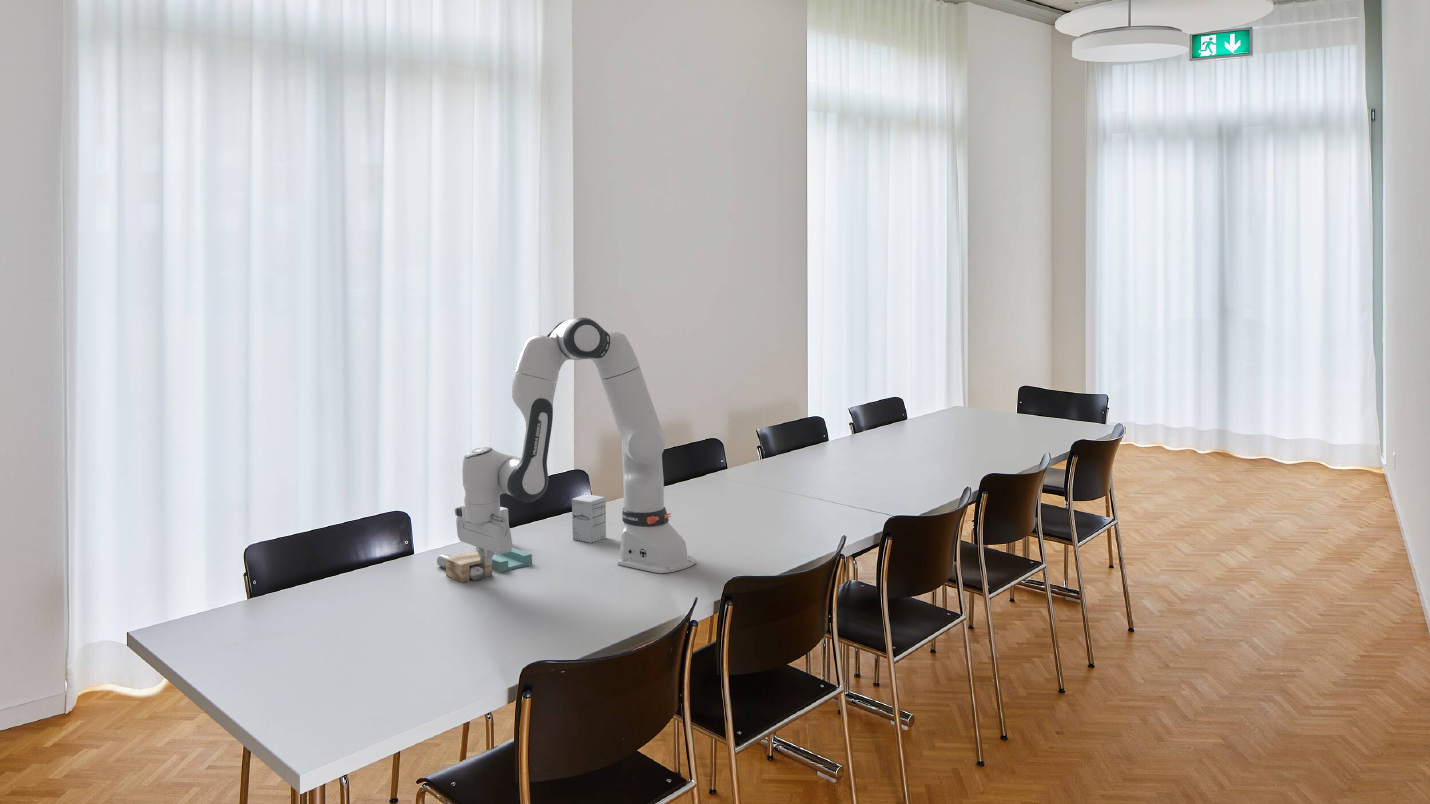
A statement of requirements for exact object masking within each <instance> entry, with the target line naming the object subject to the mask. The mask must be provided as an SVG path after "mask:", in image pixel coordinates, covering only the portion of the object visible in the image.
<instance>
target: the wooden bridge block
mask: <svg viewBox="0 0 1430 804" xmlns="http://www.w3.org/2000/svg"><path fill="white" fill-rule="evenodd" d="M445 561H446V569H445V576H446V575H448V576H449V577H448V576H447V577H448V578H450V577H452V578H451V579H453V578H454V579H453V580H455V579H456V580H455V581H457V580H458V582H460V583H462V582H463V583H466V582H465V581H467V582H470V581H469V580H470V573H469V566H470V565H475V566H477V567H480V568H483V569H484V570H485V577H488V575H489V576H491V575H493V569H492V564H491V565H485V564H482V563H480V557H479V555H478V552H477V550H476V551H470V552H466V553H463V554H457V555H454V556H451V557H449V558H445Z"/></svg>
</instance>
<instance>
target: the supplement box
mask: <svg viewBox="0 0 1430 804" xmlns="http://www.w3.org/2000/svg"><path fill="white" fill-rule="evenodd" d="M606 502H607V501H606V497H605V496H599V495H595V494H594V495H593V494H588V493H587V494H583V495H580V496H576V497H574V498H571V509H572V510H571V511H572V512H571V513H572V514H571V518H572V521H571V522H572V523H571V524H572V526H571V527H572V540H573V539H574V540H575V541H579V540H580V542H584V541H585V542H586V543H589V544H593V543H596V542H598V541H597V540H599V541H600V539H601V540H603V539H602V538H604V539H606V538H607V517H606V516H607V515H606V514H607V511H606V510H607V509H606V504H607V503H606ZM605 537H606V538H605ZM574 540H573V541H574ZM581 540H582V541H581ZM595 541H596V542H595ZM592 542H593V543H592Z"/></svg>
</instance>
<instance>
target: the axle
mask: <svg viewBox="0 0 1430 804" xmlns="http://www.w3.org/2000/svg"><path fill="white" fill-rule="evenodd" d="M449 557H452V556H451V555H449V554H445V553H441V554H440V555H439V556H438V557H437V559H436V564H437V565H438V567H440V566H441V568H444V569H445V568H446V561H445V558H449ZM469 573H470V579H471V580H473V581H476V582H478V580H479V581H481V580H480V579H483V580H484V579H485V577H486V576H485V570H484V569H483V568H480V567H477V566H475V565H470V566H469Z"/></svg>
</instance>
